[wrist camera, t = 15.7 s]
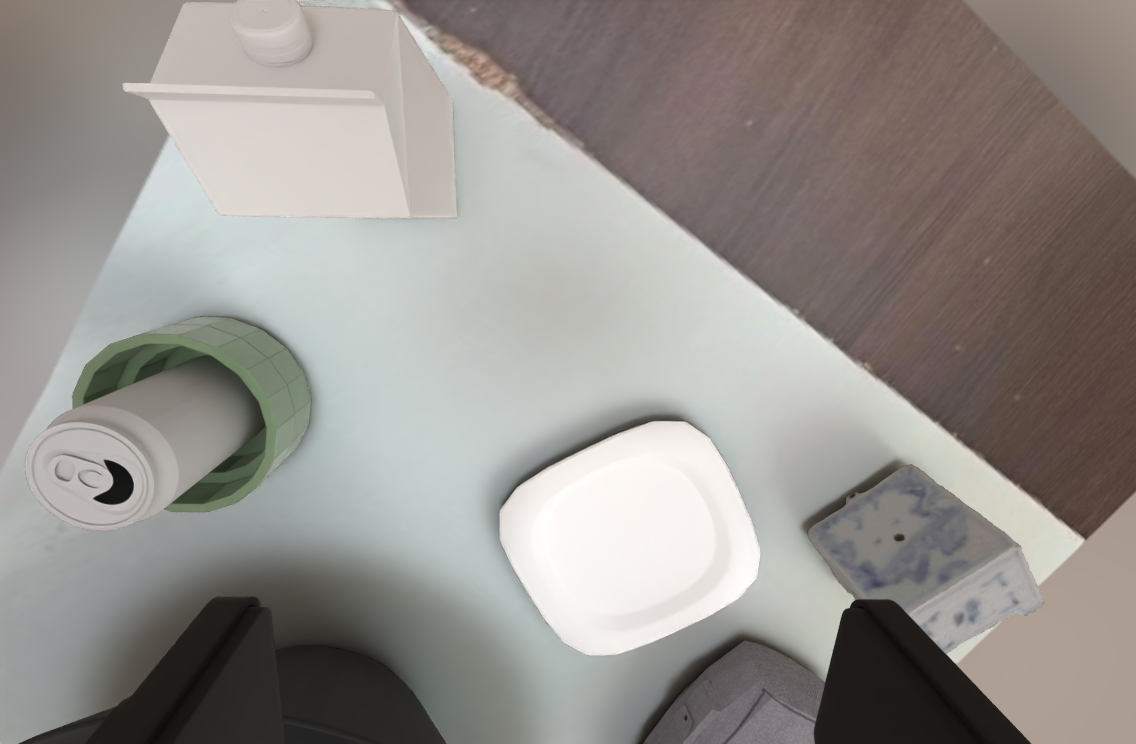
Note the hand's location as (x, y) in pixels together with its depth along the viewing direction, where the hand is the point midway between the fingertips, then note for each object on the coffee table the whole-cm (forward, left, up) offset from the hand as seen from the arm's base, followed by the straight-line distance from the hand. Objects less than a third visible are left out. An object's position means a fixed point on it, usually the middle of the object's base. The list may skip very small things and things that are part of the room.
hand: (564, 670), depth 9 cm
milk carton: (-10, -9, -30) cm, 33 cm away
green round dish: (+6, -21, -30) cm, 37 cm away
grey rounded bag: (+37, +18, -30) cm, 51 cm away
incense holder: (+16, +28, -30) cm, 44 cm away
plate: (+17, +8, -30) cm, 35 cm away
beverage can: (+6, -21, -30) cm, 37 cm away
